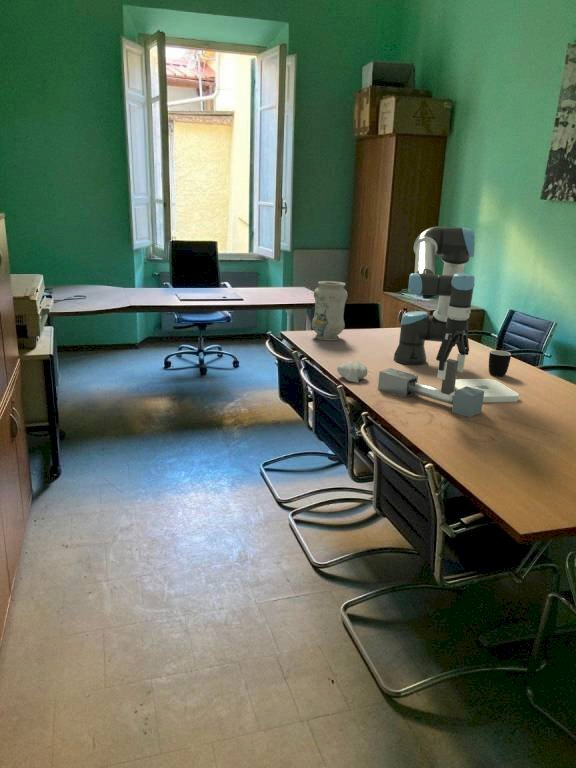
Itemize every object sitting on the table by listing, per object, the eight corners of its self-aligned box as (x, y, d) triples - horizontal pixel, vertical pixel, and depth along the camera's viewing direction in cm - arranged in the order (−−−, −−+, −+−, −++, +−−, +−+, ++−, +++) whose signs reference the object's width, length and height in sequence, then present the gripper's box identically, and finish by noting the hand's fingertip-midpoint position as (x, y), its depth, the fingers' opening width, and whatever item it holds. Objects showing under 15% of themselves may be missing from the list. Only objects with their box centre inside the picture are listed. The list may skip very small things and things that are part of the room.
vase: (327, 332, 322) (330, 279, 313) (351, 339, 310) (355, 283, 301) (304, 336, 311) (307, 281, 301) (328, 343, 298) (331, 285, 289)
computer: (521, 402, 223) (522, 395, 222) (468, 403, 219) (469, 396, 218) (492, 384, 243) (493, 378, 243) (444, 385, 240) (445, 379, 239)
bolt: (401, 391, 224) (406, 351, 219) (407, 389, 227) (412, 349, 222) (463, 409, 207) (469, 366, 202) (468, 406, 210) (475, 364, 205)
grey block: (451, 412, 208) (454, 391, 206) (463, 406, 214) (466, 386, 212) (469, 417, 204) (473, 396, 201) (481, 411, 210) (484, 390, 207)
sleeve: (377, 389, 230) (379, 371, 227) (388, 385, 235) (390, 368, 233) (405, 397, 221) (407, 379, 219) (416, 393, 227) (418, 375, 224)
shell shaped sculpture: (346, 372, 251) (347, 357, 249) (371, 378, 244) (373, 363, 242) (330, 378, 241) (331, 363, 239) (356, 385, 234) (358, 369, 232)
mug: (510, 378, 252) (513, 356, 249) (489, 376, 253) (492, 354, 250) (502, 370, 263) (506, 349, 260) (482, 369, 264) (486, 347, 261)
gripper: (450, 324, 193) (442, 384, 200) (483, 315, 210) (475, 370, 217) (430, 320, 198) (423, 379, 204) (464, 312, 215) (457, 366, 222)
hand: (450, 375), depth 211 cm, fingers open, 13 cm apart
